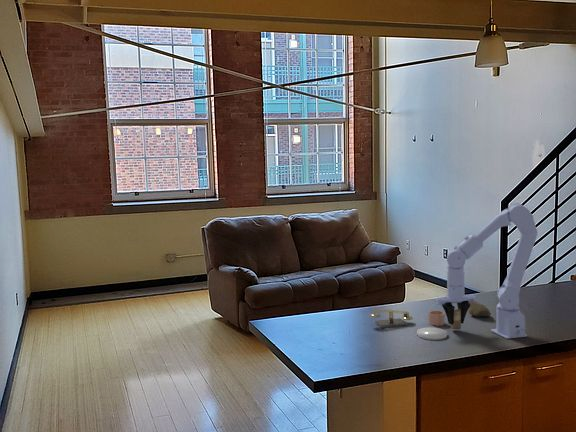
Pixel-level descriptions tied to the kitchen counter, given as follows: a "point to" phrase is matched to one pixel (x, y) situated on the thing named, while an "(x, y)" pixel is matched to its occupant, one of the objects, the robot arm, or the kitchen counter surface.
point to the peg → (456, 319)
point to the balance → (391, 318)
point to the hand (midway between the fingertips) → (455, 323)
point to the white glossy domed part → (432, 333)
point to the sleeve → (437, 318)
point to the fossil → (478, 309)
